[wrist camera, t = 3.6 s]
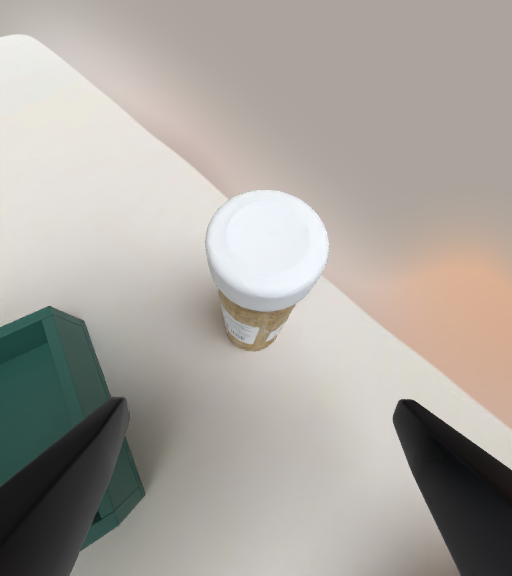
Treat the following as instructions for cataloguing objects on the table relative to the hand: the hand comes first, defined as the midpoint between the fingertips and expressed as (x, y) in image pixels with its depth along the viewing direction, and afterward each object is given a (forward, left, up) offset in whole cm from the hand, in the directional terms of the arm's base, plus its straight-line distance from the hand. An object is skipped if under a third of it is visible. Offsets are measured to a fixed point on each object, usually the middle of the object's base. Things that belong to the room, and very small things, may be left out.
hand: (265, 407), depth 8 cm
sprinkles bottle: (+4, -4, -12) cm, 13 cm away
